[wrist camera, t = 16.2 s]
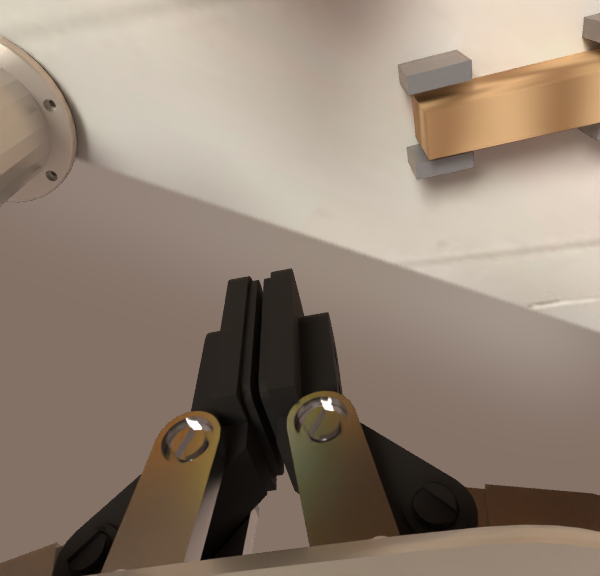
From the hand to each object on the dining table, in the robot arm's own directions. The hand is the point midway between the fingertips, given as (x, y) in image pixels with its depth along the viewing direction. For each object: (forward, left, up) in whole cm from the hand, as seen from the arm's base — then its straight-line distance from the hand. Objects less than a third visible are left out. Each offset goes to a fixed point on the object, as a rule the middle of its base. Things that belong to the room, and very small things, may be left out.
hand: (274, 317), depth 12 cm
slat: (+16, -4, -26) cm, 31 cm away
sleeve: (+10, -4, -26) cm, 28 cm away
